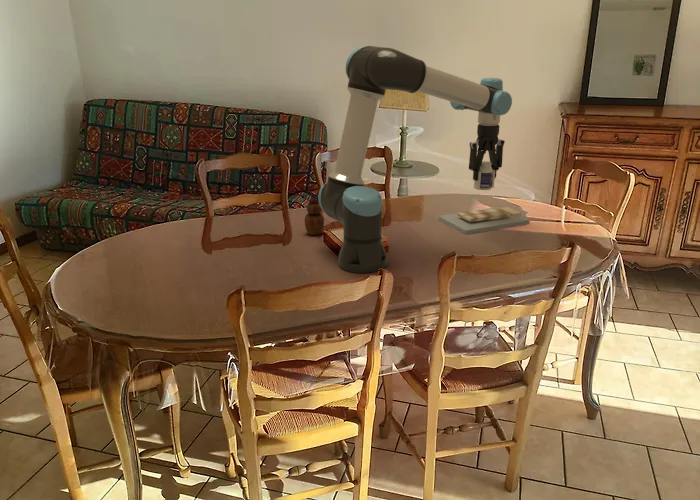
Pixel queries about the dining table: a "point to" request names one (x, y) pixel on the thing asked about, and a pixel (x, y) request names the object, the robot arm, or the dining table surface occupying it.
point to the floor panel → (484, 222)
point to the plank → (483, 215)
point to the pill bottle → (486, 175)
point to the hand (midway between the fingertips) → (483, 187)
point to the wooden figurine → (314, 217)
